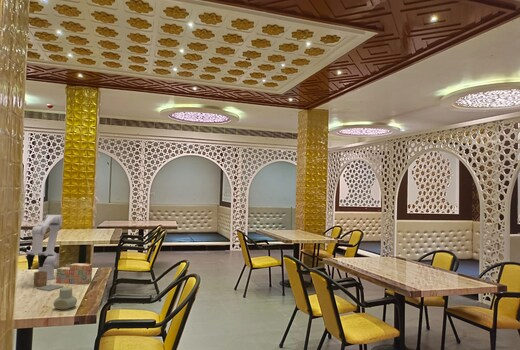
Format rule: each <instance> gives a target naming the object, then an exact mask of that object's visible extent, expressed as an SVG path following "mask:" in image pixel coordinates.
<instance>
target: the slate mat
mask: <svg viewBox="0 0 520 350" xmlns="http://www.w3.org/2000/svg"><path fill="white" fill-rule="evenodd" d="M61 288H64V285H57V284H51V283H50V284H47V285H46V286H42V287H38V288H36V287H35V289H36V290H41V291H46V292H51V291H54V290H58V289H59V290H60V289H61Z"/></svg>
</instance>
